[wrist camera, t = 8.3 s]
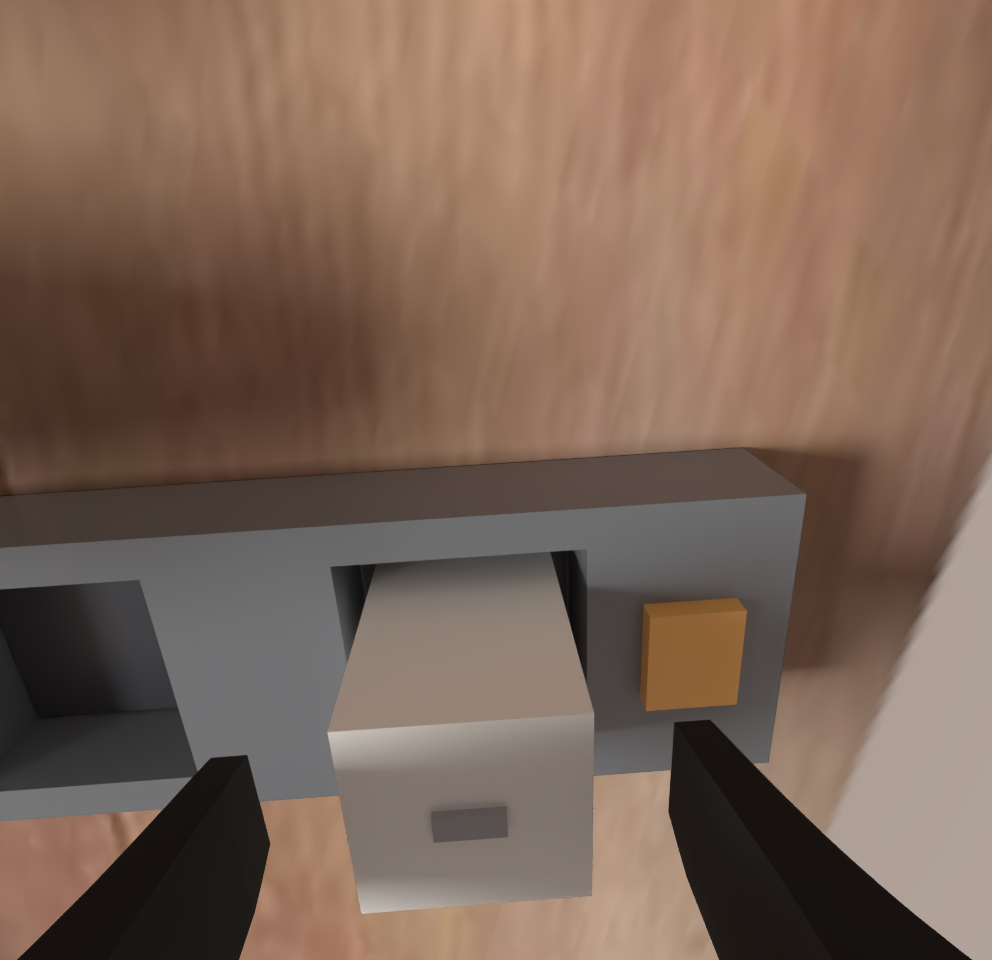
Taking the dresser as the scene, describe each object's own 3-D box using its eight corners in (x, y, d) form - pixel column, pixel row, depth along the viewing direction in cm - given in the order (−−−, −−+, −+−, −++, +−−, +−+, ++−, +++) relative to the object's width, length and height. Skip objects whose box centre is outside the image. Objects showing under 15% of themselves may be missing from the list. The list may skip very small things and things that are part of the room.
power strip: (12, 731, 17) (-96, 846, 14) (-87, 501, 14) (-250, 576, 11) (720, 679, 17) (778, 779, 14) (742, 447, 15) (820, 504, 12)
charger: (398, 681, 16) (360, 922, 10) (380, 547, 15) (325, 739, 9) (548, 671, 16) (593, 904, 10) (546, 536, 15) (596, 720, 9)
